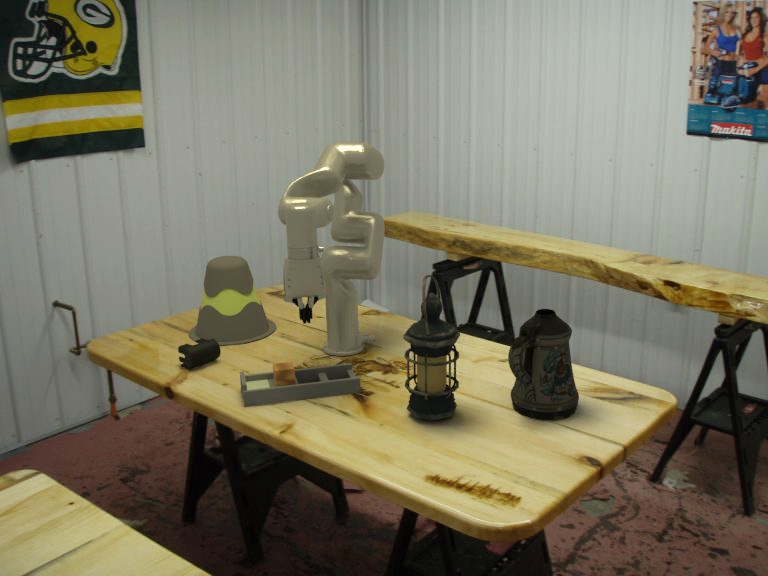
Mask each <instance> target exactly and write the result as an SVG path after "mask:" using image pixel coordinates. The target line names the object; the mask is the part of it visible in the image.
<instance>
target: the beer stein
mask: <svg viewBox="0 0 768 576" xmlns="http://www.w3.org/2000/svg"><path fill="white" fill-rule="evenodd" d="M518 333H519V334H518V336H517V337H516V338H515V339H514V340H513V341H512V343H511V345H510V348H509V350H508V356H507V360H508V365H509V368H510V371H511V373H512V375H513V376H514V377H515V381H514V383H513V387H512V388H511V390H510V398H511V404H512V407H513V410H514V411H515V412H516V413H518V414H520V415H521V416H524V417H526V418H529V419H533V420H537V421H538V420H539V421H560V420H565V419H567V418H570V417H571V416H573V415H574V414H575V413H576V411H577V408H578V404H579V400H580V394H579V390H578V389H577V386H576V382H575V377H574V372H573V365H572V355H571V346H570V339H571V337H572V334H573V329H572V327H571V326H570V324H568V323H567V322H566V321H565V320H563V319H562V318H561V317H559V316H558V315H557V314H556V311H555V310H554V309H550V308H540V309H537V310H536V311H535V313H534V315H533V316H531V317H530V318H529V319H527V320H526V321H525V322H523V324H522V325H521V326H520V327H519V332H518Z"/></svg>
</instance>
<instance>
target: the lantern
mask: <svg viewBox="0 0 768 576" xmlns="http://www.w3.org/2000/svg"><path fill="white" fill-rule="evenodd" d="M428 278H431V279H432V280H433V282H434V284H435V287H436V288H435V289H436V294H435V293H433V292H430V293H428V294H427V296H426V287H427V286H426V285H427V284H426V283H427V279H428ZM439 285H440V284H439V283H438V280H437V278H436V276H434V275H431V274H428V275H425V276H424V277H423V279H422V290H421V291H422V292H421V293H422V294H421V297H422V298H421V299H422V302H421V306H420V312H421V315H422V316H423V318H422V319H419V320H418V321H417V322H414V323H412V324H411V325H410V326H409V328H407V330H406V332H405V333H404V334H403V336H402V339H404V341H406V342H407V343H409V345H410V348H408V349H407V350H405V351H404V355H403V356H404V358H405V360H406V372H407V373H406V375H407V379H405V381H404V387H405V389H406V390H407V391H408V393H410V395H409V400H408V405H407V407H406V410H407V411H408V412H409V413H411V414H412V415H413V416H414V417H416V418H417V419H420V420H421V419H422V420H428V421H429V420H430V421H438V420H442V419H446V418H449V417H452V416H453V415H454V413H455V411H456V409H457V407H458V404H457V402H456V398H455V394H454V392H456V391H457V390H458V389H459V388H460V387H459V386H460V382H459V380H458V379H457V360H459V359H460V352H459V350H457V347H456V345H455V344H456V343H457V341H458V340H459V338H460V337H461V332H459V331H458V328H457V327H456V326H453V325H452V324H450V323H449V322H446V321H445V320H443V319H441V314H442V312H443V306H444V305H443V302H442V300H441V290H440V286H439ZM410 352H412V353H413V355H412V356H413V359H412V358H410ZM451 352H453V358H452V356H451ZM447 356H448V357H447ZM447 358H448V360H447ZM410 363H412V364H413V375H411V376H410ZM452 363H453V376H452ZM447 366H448V368H447ZM447 371H448V374H447ZM447 378H448V382H447ZM412 380H413V382H414V384H415V386H414V387H413V388H412V387H410V386H411V385H410V382H411V381H412ZM452 381H453V384H452ZM447 383H448V384H447Z"/></svg>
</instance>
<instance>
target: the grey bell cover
mask: <svg viewBox="0 0 768 576" xmlns="http://www.w3.org/2000/svg"><path fill="white" fill-rule="evenodd" d="M201 297H202V298H201V304H200V307H199V309H198V316H197V322H196V325H195V326H193V327H192V328H191V329H190V330H189V332H188V338H189V339H190V340H191V341H192V342H195V341H196V340H199V339H202V338H203V339H206V340H210V339H215V340H216V341H217V342H218V344H219V346H236V345H243V344H249V343H253V342H257V341H259V340H262V339H264V338H268V337H269V336H271V335H272V334H273V333H274V332H275V331H276V330H277V324H276V323H275V321H274V320H272V319H269V318H267V315H266V311H265V309H264V306H263V304H262V301H261V300H260V298H259V295H258V292H257V289H256V286H255V283H254V278H253V274H252V272H251V269H250V266H249V263H248V261H247V260H246V259H245V258H244V257H242V256H238V255H221V256H217V257H214V258H212V259H211V260H209V261H208V262H207V264H206V268H205V274H204V281H203V292H202V296H201Z"/></svg>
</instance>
